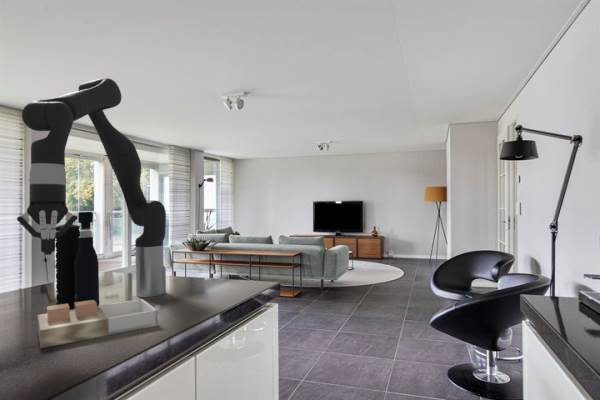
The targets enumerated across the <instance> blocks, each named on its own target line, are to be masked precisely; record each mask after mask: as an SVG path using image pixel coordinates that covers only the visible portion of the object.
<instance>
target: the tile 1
mask: <svg viewBox="0 0 600 400" xmlns="http://www.w3.org/2000/svg"><path fill="white" fill-rule="evenodd" d="M46 313H47V321H48V323H50V322H56V321H62V320H68V319H70V309H69V305H68V303H67V304H60V305H56V304H54V305H48V306H46Z"/></svg>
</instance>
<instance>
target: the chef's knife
mask: <svg viewBox="0 0 600 400" xmlns="http://www.w3.org/2000/svg"><path fill="white" fill-rule="evenodd" d="M153 307H154V308H155V309H156V310H157V315H159V314H160V312H161V310H162V306H161V305H159V304H155V306H153Z"/></svg>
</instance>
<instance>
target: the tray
mask: <svg viewBox="0 0 600 400" xmlns="http://www.w3.org/2000/svg"><path fill="white" fill-rule="evenodd" d="M99 307H100V309H101V310H102V311H103V312H104V314H105V315H106V316H107V317H108V319H109V335H108V336H110V335H111V334H112V335H117V334H121V333H122V334H123V333H127V332H132V331H137V330H141V329H143V330H144V329H148V328H152V327H158V325H159V323H158V322H159V321H158V314H157V310H156V309H155V308H154V306H152V305H151V304H150V303H148V302H147V301H145V300H144V299H142V298H140V299H133V300H127V301H121V302H113V303H106V304H99Z"/></svg>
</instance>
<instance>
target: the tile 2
mask: <svg viewBox="0 0 600 400" xmlns="http://www.w3.org/2000/svg"><path fill="white" fill-rule="evenodd" d="M74 308H75V316H76V318H81V317H87V316H93V315H97V303H96V302H95V300H89V301H82V302H75V303H74Z"/></svg>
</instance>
